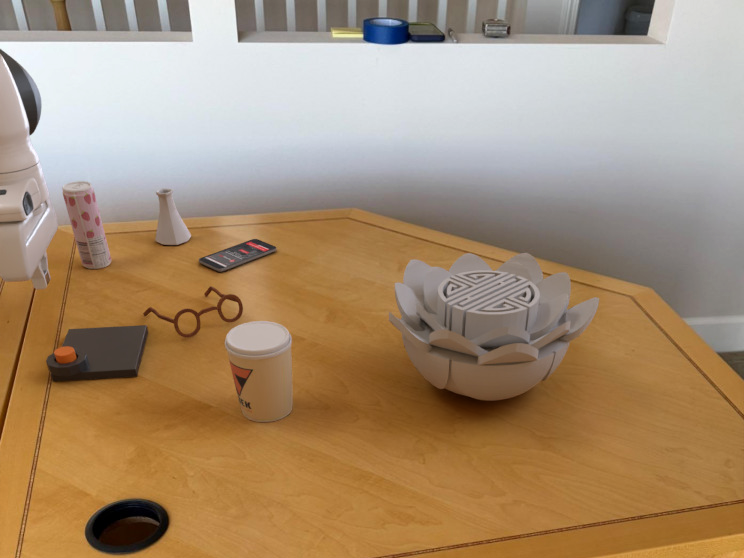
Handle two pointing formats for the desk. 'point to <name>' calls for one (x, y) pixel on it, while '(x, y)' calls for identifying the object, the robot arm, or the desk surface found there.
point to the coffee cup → (261, 369)
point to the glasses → (201, 312)
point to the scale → (101, 353)
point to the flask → (170, 221)
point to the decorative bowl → (487, 324)
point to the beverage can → (86, 224)
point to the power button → (65, 355)
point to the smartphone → (237, 255)
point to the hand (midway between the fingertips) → (43, 285)
